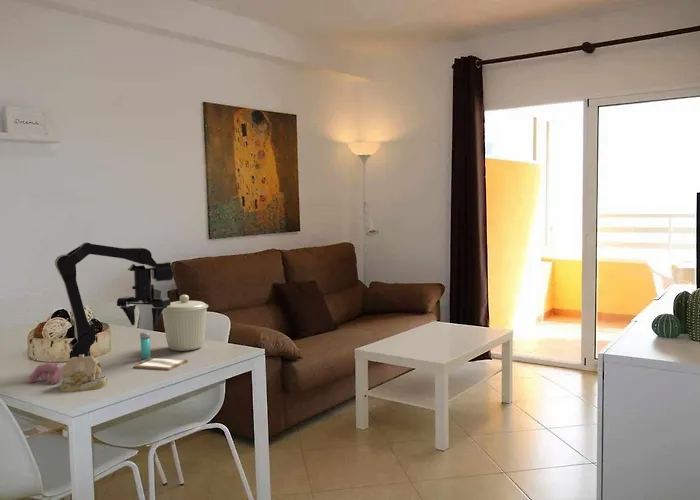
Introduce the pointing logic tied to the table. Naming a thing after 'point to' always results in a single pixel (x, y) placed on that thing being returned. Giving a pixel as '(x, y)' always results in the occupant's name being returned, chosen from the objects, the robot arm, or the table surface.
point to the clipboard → (159, 364)
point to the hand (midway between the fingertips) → (144, 325)
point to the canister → (185, 324)
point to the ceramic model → (82, 374)
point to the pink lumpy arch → (43, 372)
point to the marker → (145, 345)
